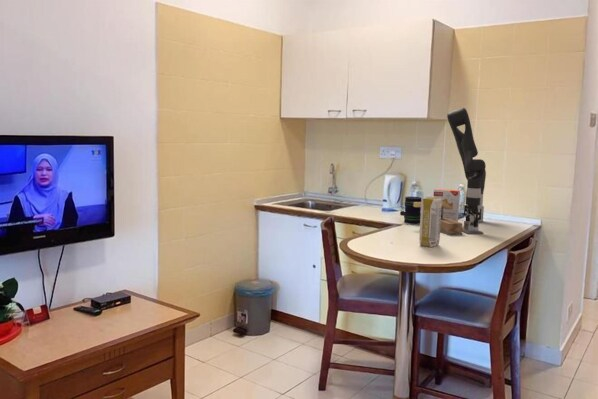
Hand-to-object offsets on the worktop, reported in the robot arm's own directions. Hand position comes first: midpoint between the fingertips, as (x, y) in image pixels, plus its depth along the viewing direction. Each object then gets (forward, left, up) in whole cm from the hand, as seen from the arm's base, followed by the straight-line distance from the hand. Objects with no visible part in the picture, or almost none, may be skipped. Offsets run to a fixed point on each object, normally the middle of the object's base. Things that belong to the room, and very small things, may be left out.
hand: (471, 225), depth 285 cm
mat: (0, 0, -4) cm, 4 cm away
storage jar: (+21, -32, -4) cm, 38 cm away
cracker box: (+5, -22, -4) cm, 23 cm away
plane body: (+13, -4, -4) cm, 14 cm away
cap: (0, 0, -3) cm, 3 cm away
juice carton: (+38, +28, -4) cm, 47 cm away
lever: (+20, -12, +3) cm, 23 cm away
